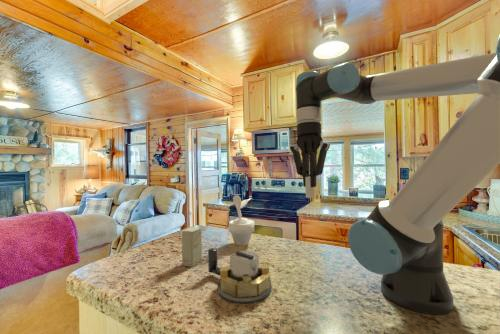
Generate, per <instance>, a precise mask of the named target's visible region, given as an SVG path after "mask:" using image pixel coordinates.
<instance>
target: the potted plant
mask: <svg viewBox="0 0 500 334" xmlns="http://www.w3.org/2000/svg"><path fill="white" fill-rule="evenodd" d="M242 194H243V196H244V198H245V197H246V191H245V189H244V191H243V193H242ZM250 200H252V197H251V198H248V199H243V200H242V198H241V197H240V196H239V195H237V194H235V195H234V196H233V197H232V201H233V205H234V206H235V208H236V212H237V215H238V218H236V219H232V220H229V221H228V233H230V235H231V238H232V241H233V243H234V245H236V246H242V247H243V246H247V245H249V244H250V240H251V237H252V233H254V232H255V220H253V219H248V218H246V217H242V216H243V214H242V210H241V209H243V208H245V206H246V205H248V203H249V201H250Z"/></svg>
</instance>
